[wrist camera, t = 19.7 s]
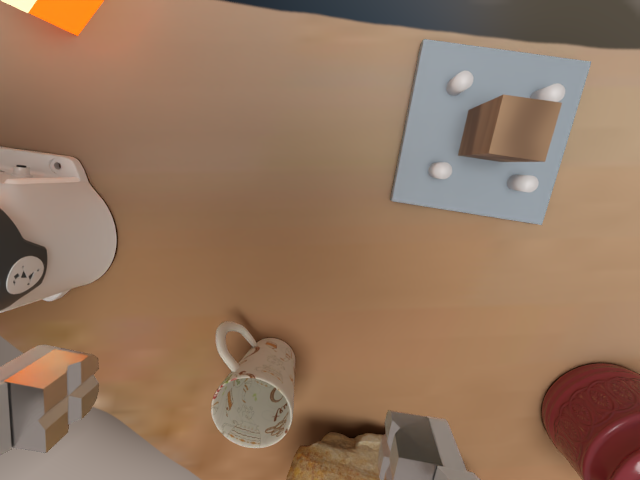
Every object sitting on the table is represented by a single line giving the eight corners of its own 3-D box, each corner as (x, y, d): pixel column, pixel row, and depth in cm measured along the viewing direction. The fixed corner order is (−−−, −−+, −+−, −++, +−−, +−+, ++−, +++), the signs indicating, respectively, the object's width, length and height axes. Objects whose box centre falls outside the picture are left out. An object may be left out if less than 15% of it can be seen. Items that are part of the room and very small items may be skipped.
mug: (267, 397, 46) (245, 461, 36) (207, 325, 44) (167, 371, 34) (317, 366, 44) (308, 424, 34) (257, 290, 42) (230, 328, 33)
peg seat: (390, 199, 39) (395, 204, 34) (420, 44, 35) (431, 27, 31) (534, 222, 38) (558, 230, 33) (581, 66, 34) (614, 51, 30)
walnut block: (457, 155, 36) (488, 153, 28) (468, 110, 35) (503, 94, 27) (501, 162, 35) (545, 161, 28) (513, 116, 34) (562, 102, 27)
